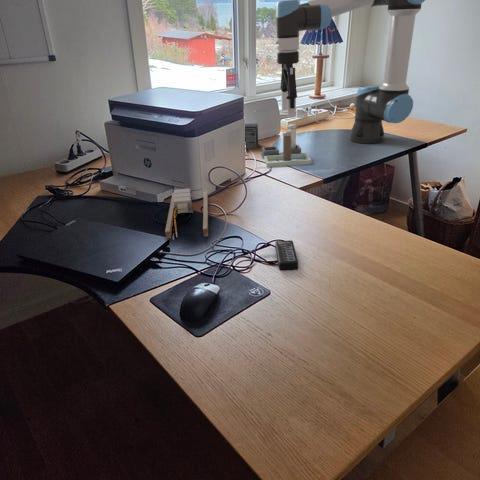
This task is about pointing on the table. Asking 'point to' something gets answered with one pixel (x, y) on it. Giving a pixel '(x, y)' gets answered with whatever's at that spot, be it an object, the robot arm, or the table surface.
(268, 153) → the fuse block
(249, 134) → the small box
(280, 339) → the table surface
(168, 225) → the cable rest strips
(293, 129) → the fuse
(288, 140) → the fuse
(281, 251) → the multiport hub
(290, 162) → the parts tray
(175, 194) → the electrical component
